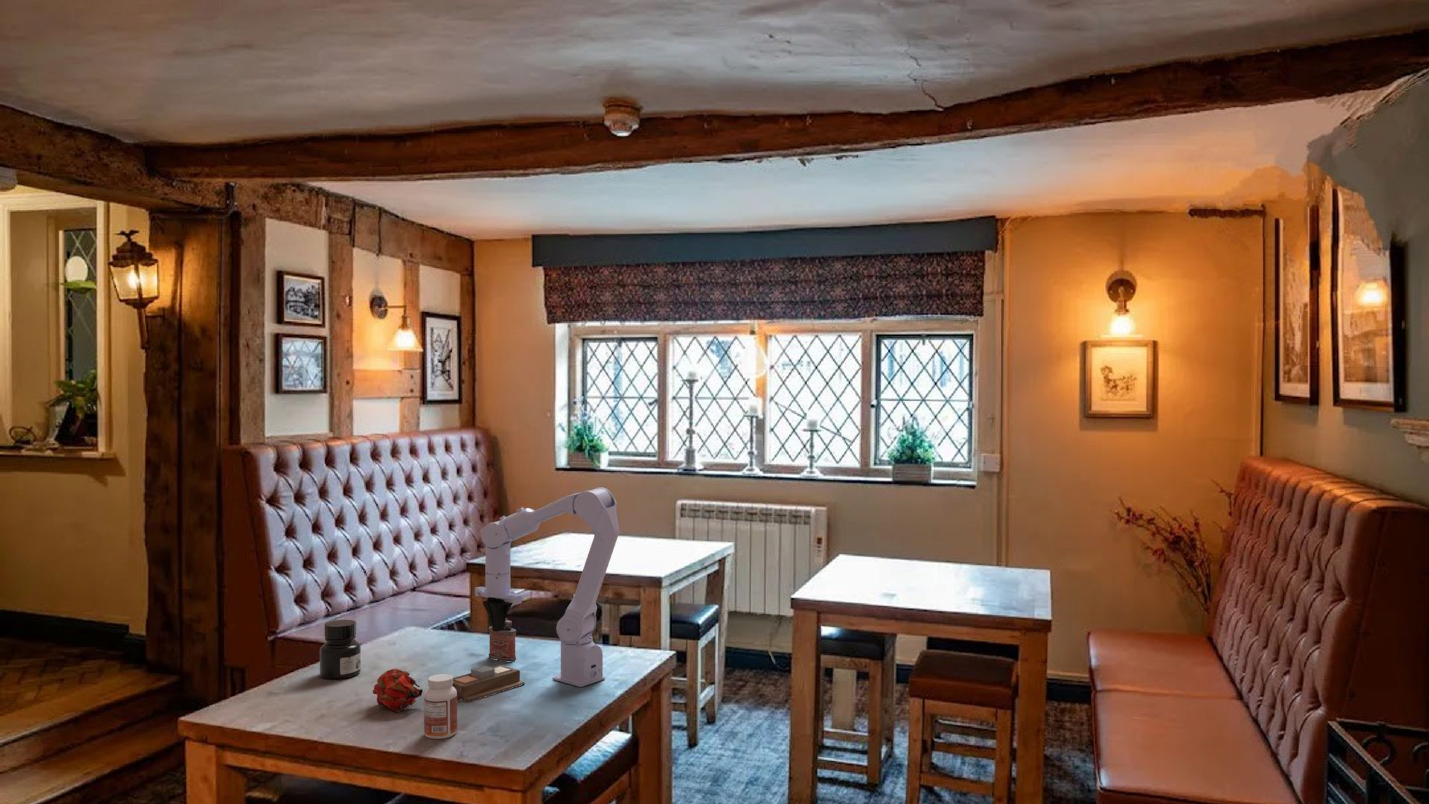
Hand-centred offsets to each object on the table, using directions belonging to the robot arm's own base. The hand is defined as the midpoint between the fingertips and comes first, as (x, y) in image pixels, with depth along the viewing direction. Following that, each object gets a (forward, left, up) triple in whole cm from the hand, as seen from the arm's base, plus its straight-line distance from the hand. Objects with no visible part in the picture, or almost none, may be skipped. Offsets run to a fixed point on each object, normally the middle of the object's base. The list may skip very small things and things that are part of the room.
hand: (497, 630), depth 230 cm
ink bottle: (+27, +24, -10) cm, 38 cm away
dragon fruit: (-3, +29, -10) cm, 31 cm away
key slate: (-7, +10, -8) cm, 15 cm away
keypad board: (-7, +10, -10) cm, 16 cm away
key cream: (-7, +6, -9) cm, 13 cm away
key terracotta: (-7, +14, -9) cm, 18 cm away
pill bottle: (-23, +33, -10) cm, 41 cm away
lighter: (+8, -8, -10) cm, 15 cm away
